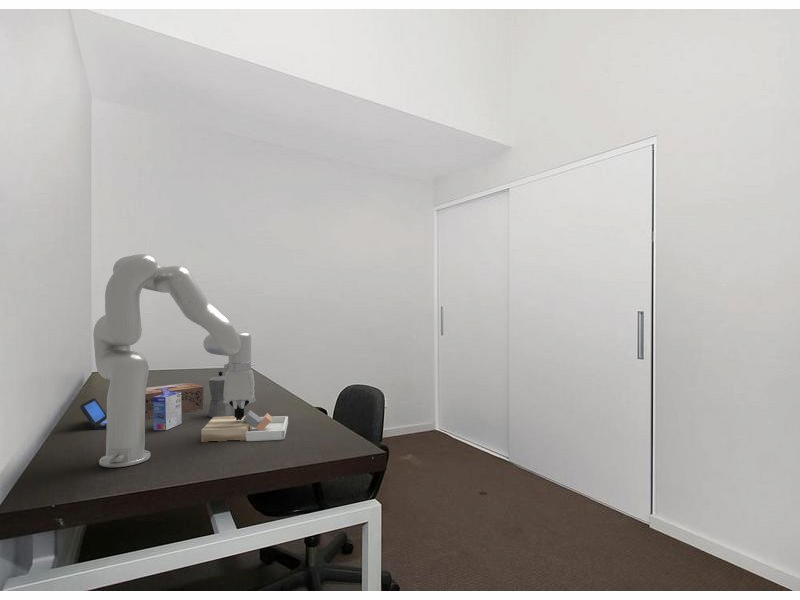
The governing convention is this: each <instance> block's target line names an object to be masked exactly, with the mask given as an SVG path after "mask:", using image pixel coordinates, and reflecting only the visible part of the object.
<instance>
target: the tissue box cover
mask: <svg viewBox="0 0 800 600" xmlns="http://www.w3.org/2000/svg"><path fill="white" fill-rule="evenodd" d="M165 387H167V388H168V390H169V392H181V413H185V412H184V411H188V412H192V411H191V410H194V411H198V410H197V409H200V410H203V409H204V386H202V385H198V384H197V383H192V382H187V383H176V384H168V385H157V386H151V387H150V386H149V387H146V394H145V417H150V416H153V397H155V396H158V395H161V394H163V393H162V391H161V388H165ZM163 391H164V392H165V391H167V390H166V389H165V390H163ZM150 418H151V417H150Z"/></svg>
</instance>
